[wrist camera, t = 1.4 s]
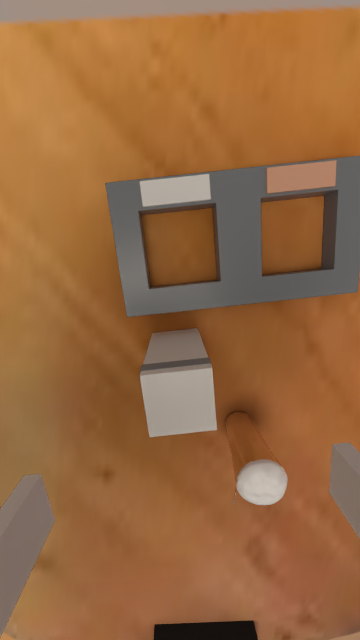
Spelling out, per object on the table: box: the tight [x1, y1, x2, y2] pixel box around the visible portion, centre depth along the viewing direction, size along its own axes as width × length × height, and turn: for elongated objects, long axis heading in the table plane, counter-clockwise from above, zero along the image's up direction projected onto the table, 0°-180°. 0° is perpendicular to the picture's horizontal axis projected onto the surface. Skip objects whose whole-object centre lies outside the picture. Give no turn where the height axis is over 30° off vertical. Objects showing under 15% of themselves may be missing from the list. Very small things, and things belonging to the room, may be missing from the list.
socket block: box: [105, 156, 360, 317], centre depth 23 cm, size 23×12×2 cm, turn 96°
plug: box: [140, 328, 217, 437], centre depth 22 cm, size 5×5×10 cm
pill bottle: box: [225, 412, 287, 505], centre depth 24 cm, size 4×5×10 cm
